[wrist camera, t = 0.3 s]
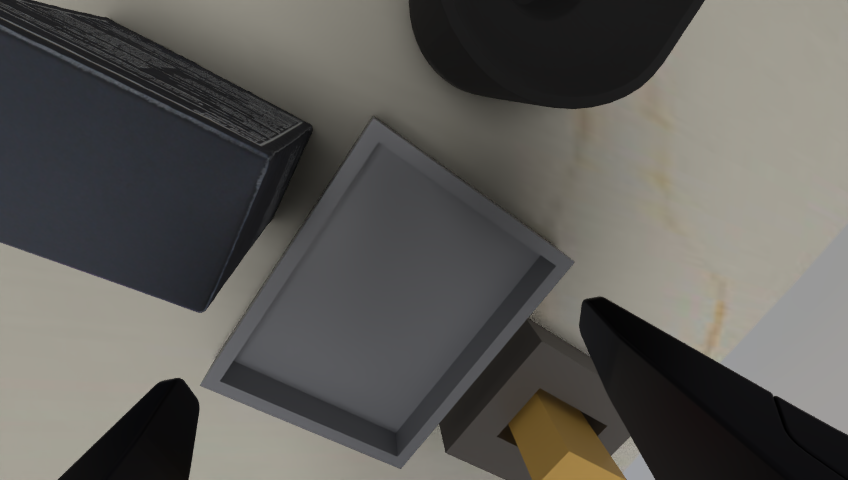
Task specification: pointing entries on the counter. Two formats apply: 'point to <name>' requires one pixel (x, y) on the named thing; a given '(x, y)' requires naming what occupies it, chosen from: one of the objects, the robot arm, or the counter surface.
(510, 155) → the counter surface
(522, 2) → the pen holder
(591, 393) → the gray square frame
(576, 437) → the block
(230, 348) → the parts tray
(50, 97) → the small box
